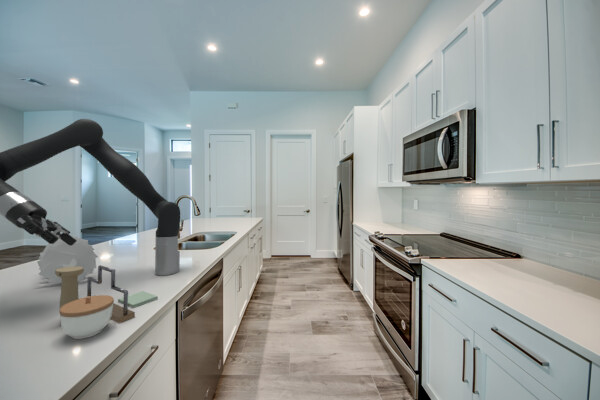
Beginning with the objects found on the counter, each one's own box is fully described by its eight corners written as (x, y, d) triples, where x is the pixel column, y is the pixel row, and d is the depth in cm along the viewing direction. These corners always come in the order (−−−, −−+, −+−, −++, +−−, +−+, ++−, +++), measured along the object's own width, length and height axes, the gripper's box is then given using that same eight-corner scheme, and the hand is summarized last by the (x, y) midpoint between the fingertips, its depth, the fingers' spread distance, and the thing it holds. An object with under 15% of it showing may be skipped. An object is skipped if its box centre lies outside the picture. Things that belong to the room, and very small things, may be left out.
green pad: (142, 293, 89) (142, 291, 89) (157, 299, 85) (157, 296, 85) (118, 301, 82) (118, 298, 82) (133, 308, 78) (133, 304, 78)
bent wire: (94, 299, 84) (95, 260, 83) (134, 317, 72) (135, 271, 72) (80, 304, 80) (80, 263, 80) (119, 323, 69) (120, 275, 69)
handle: (69, 327, 66) (70, 272, 66) (49, 324, 67) (50, 270, 67) (87, 318, 71) (88, 267, 71) (68, 316, 72) (69, 265, 72)
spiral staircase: (79, 278, 115) (84, 291, 97) (28, 269, 103) (24, 281, 86) (100, 241, 121) (109, 247, 103) (55, 228, 109) (56, 232, 92)
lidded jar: (93, 344, 59) (94, 305, 59) (46, 345, 58) (46, 306, 58) (122, 321, 70) (122, 289, 70) (82, 322, 69) (82, 289, 69)
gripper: (12, 194, 69) (60, 230, 69) (49, 205, 82) (88, 235, 83) (-15, 215, 66) (35, 251, 67) (27, 222, 80) (69, 253, 80)
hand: (65, 242), depth 75 cm, fingers open, 8 cm apart
